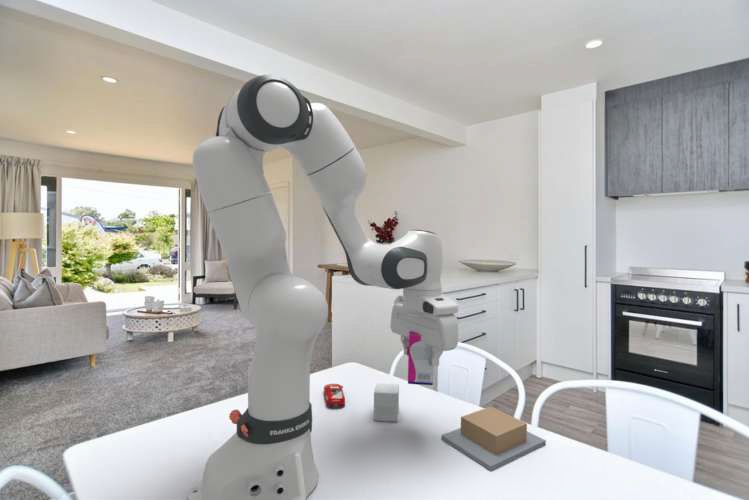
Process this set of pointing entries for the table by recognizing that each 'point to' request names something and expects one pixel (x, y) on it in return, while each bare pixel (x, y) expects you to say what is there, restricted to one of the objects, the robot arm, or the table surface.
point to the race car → (334, 395)
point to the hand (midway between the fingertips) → (420, 360)
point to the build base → (486, 454)
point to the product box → (386, 402)
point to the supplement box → (419, 361)
